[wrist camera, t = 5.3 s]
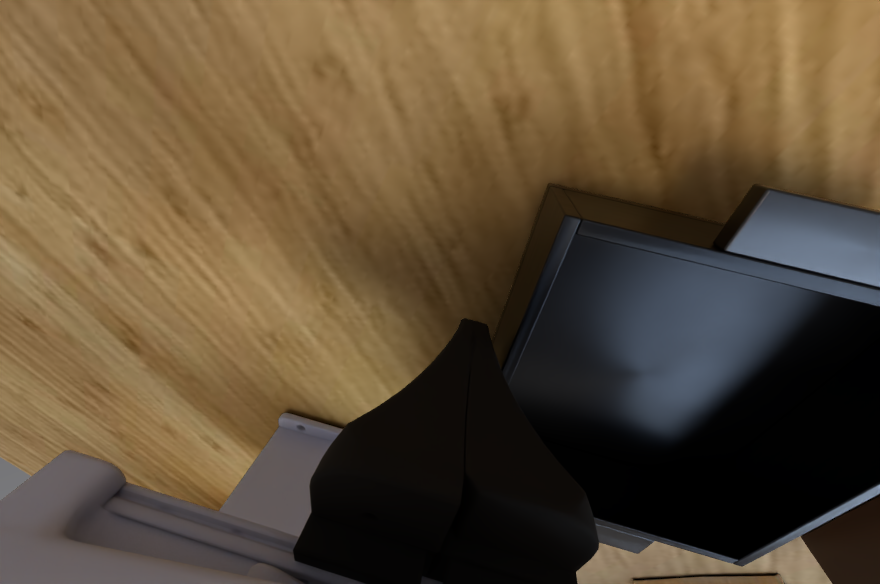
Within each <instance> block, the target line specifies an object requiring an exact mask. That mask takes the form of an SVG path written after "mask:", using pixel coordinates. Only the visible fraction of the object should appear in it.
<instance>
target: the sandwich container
mask: <svg viewBox="0 0 880 584" xmlns="http://www.w3.org/2000/svg"><path fill="white" fill-rule="evenodd" d="M633 582H634V584H784V582H783V580H782V578H781V576H780V575H779V574H777V575H775V576H720V577H688V578H671V579H654V580H638V581H635V580H633Z"/></svg>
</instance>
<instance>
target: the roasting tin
mask: <svg viewBox="0 0 880 584" xmlns="http://www.w3.org/2000/svg"><path fill="white" fill-rule="evenodd" d="M492 345H493V348H494V351H495V354H496V357H497V359H498V362H499V365H500V367H501V370H502V372H503V374H504V377H505V379H506V381H507V383H508V385H509V387H510V390H511V392H512V393H513V395H514V397H515V399H516V401H517V403H518V404H519V406H520V408H521V410H522V411H523V413H524V415H525V416H526V418H527V419H528V421H529V423H530V424H531V425H532V427H533V428H534V430H535V431H536V433H537V434H538V435H539V437H540V438H541V440H542V441H543V443H544V444H545V445H546V446H547V448H548V449H549V450H550V452H551V453H552V454H553V455H554V457H555V458H556V459H557V460H558V462H559V463H560V464H561V465H562V466H563V467H564V468H565V470H566V471H567V472H568V473H569V474H570V475H571V476H572V477H573V479H574V480H575V481H576V482H577V483H578V484H579V485H580V486H581V487H582V489H583V490H584V491H585V492H586V495H587V498H588V501H589V504H590V507H591V510H592V514H593V517H594V521H595V525H596V530H597V534H598V539H599V542H600V543H603V544H606V545H610V546H613V547H617V548H620V549H623V550H627V551H630V552H633V553H637V554H638V553H640V552H641V551H642V550H644V549H645V548H646V547H648V546H649V545H650V544H652V543H653V542H654V541H657V542H661V543H664V544H668V545H671V546H674V547H678V548H681V549H684V550H688V551H691V552H695V553H698V554H701V555H705V556H708V557H712V558H715V559H718V560H722V561H725V562H729V563H733V564H735V565H739V566H744V565H746V564H748V563H750V562H752V561H754V560H756V559H758V558H759V557H761V556H763V555H765V554H767V553H769V552H771V551H773V550H775V549H776V548H778V547H780V546H782V545H784V544H786V543H788V542H790V541H792V540H793V539H795V538H797V537H799V536H801V535H803V534H805V533H807V532H809V531H810V530H812V529H814V528H816V527H818V526H820V525H822V524H824V523H826V522H827V521H829V520H831V519H833V518H835V517H837V516H839V515H841V514H842V513H844V512H846V511H848V510H850V509H852V508H854V507H856V506H858V505H859V504H861V503H863V502H865V501H867V500H869V499H871V498H873V497H875V496H876V495H878V494H880V211H879V210H874V209H869V208H865V207H860V206H856V205H851V204H847V203H842V202H838V201H833V200H829V199H824V198H820V197H815V196H811V195H806V194H802V193H797V192H793V191H788V190H784V189H779V188H775V187H770V186H766V185H761V184H754V185H753V186H752V187H751V188H750V190H749V191H748V193H747V194H746V195H745V197H744V198H743V200H742V201H741V203H740V204H739V205H738V207H737V208H736V210H735V211H734V212H733V214H732V215H731V217H730V218H729V220H728V221H727V222H726V224H725V223H721V222H717V221H712V220H708V219H704V218H699V217H695V216H691V215H686V214H682V213H678V212H673V211H669V210H665V209H660V208H656V207H652V206H647V205H643V204H639V203H634V202H630V201H626V200H621V199H617V198H612V197H608V196H604V195H599V194H595V193H591V192H586V191H582V190H578V189H573V188H569V187H565V186H560V185H556V184H552V183H549V184H548V186H547V188H546V191H545V194H544V197H543V200H542V202H541V205H540V208H539V211H538V214H537V216H536V219H535V222H534V225H533V227H532V230H531V233H530V236H529V239H528V241H527V244H526V247H525V250H524V253H523V255H522V258H521V261H520V264H519V267H518V269H517V272H516V275H515V278H514V281H513V283H512V286H511V289H510V292H509V295H508V297H507V300H506V303H505V306H504V308H503V311H502V314H501V317H500V320H499V322H498V325H497V328H496V331H495V334H494V336H493V339H492Z"/></svg>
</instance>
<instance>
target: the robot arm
mask: <svg viewBox="0 0 880 584" xmlns="http://www.w3.org/2000/svg"><path fill="white" fill-rule="evenodd" d="M278 422H279V427H278V429H277V430H276V432H275V433H274V434H273V436H272V437H271V439H270V440H269V441H268V443H267V444H266V446H265V447H264V448H263V450H262V451H261V453H260V454H259V455H258V457H257V458H256V460H255V461H254V462H253V464H252V465H251V467H250V468H249V469H248V471H247V472H246V474H245V475H244V476H243V478H242V479H241V481H240V482H239V483H238V485H237V486H236V488H235V489H234V490H233V492H232V493H231V495H230V496H229V497H228V499H227V500H226V502H225V503H224V504H223V506H222V507H221V509H220V510H219V511H216V510H213V509H210V508H206V507H203V506H200V505H197V504H194V503H191V502H188V501H184V500H181V499H178V498H175V497H172V496H169V495H166V494H162V493H159V492H156V491H153V490H150V489H147V488H143V487H140V486H137V485H134V484H131V483H128V482H126V478H125V476H124V474H123V473H122V471H121V470H120V469H119V468H118V467H116V466H115V465H113V464H112V463H109V462H107V461H104V460H101V459H98V458H95V457H92V456H89V455H85V454H82V453H79V452H76V451H73V450H66V451H64V452H62V453H61V454H60V455H58V456H57V457H56V458H55V459H53V460H52V461H51V462H50V463H48V464H47V465H46V466H44V467H43V468H42V469H41V470H39V471H38V472H37V473H35V474H34V475H33V476H32V477H30V478H29V479H28V480H26V481H25V482H24V483H23V484H21V485H20V486H19V487H17V488H16V489H15V490H14V491H12V492H11V493H10V494H8V495H7V496H6V497H5V498H3V499H2V500H1V501H0V584H577V577H576V571H577V570H579V569H580V568H581V567H582V566H583V565H584V564H586V563H587V562H588V561H589V560H590V559H591V558H592V557H593V556H594V554H595V553H596V552H597V550H598V548H599V539H598V534H597V530H596V525H595V521H594V517H593V514H592V510H591V507H590V504H589V501H588V498H587V495H586V492H585V491H584V490H583V489H582V487H581V486H580V485H579V484H578V483H577V482H576V481H575V480H574V479H573V477H572V476H571V475H570V474H569V473H568V472H567V471H566V470H565V468H564V467H563V466H562V465H561V464H560V463H559V462H558V460H557V459H556V458H555V457H554V455H553V454H552V453H551V452H550V450H549V449H548V448H547V446H546V445H545V444H544V443H543V441H542V440H541V438H540V437H539V435H538V434H537V433H536V431H535V430H534V428H533V427H532V425H531V424H530V423H529V421H528V419H527V418H526V416H525V415H524V413H523V411H522V410H521V408H520V406H519V404H518V403H517V401H516V399H515V397H514V395H513V393H512V392H511V390H510V387H509V385H508V383H507V381H506V379H505V377H504V374H503V372H502V370H501V367H500V365H499V362H498V359H497V357H496V354H495V351H494V348H493V345H492V341H491V338H490V334H489V329H488V326H487V324H485V323H481V322H478V321H474V320H470V319H466V318H464V319H462V320H461V322H460V325H459V327H458V329H457V331H456V332H455V334H454V335H453V337H452V338H451V340H450V341H449V343H448V344H447V345H446V347H445V348H444V349H443V350H442V352H441V353H440V354H439V355H438V356H437V357H436V358H435V360H434V361H433V362H432V363H431V364H430V365H429V366H428V367H427V368H426V369H425V370H424V371H423V372H422V373H421V374H420V375H419V376H418V377H417V378H415V379H414V380H413V381H412V382H411V383H409V384H408V385H407V386H406V387H405V388H403V389H402V390H401V391H399V392H398V393H397V394H395V395H394V396H392V397H391V398H390V399H388V400H387V401H385V402H384V403H382V404H381V405H379V406H378V407H376V408H375V409H373V410H371V411H370V412H368V413H366V414H364V415H362V416H361V417H359V418H357V419H355V420H354V421H352V422H350V423H348V424H347V425H346V427H345V428H344V429H341V428H337V427H334V426H331V425H327V424H324V423H321V422H317V421H314V420H310V419H307V418H304V417H300V416H297V415H293V414H290V413H283V414H282V415H281V416H280V417H279V419H278Z"/></svg>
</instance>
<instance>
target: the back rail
mask: <svg viewBox="0 0 880 584" xmlns="http://www.w3.org/2000/svg"><path fill="white" fill-rule="evenodd" d="M801 538H802V539H803V541H804V542H805V544H806V545H807V547H808V548H809V550H810V551H811V553H812V554H813V556H814V557H815V559H816V560H817V562H818V563H819V564H820V566H821V567H822V569H823V570H824V572H825V573H826V575H827V576H828V578H829V579H830V581H831V582H832V584H880V496H878V497H876V498H874V499H872V500H870V501H868V502H866V503H864V504H862V505H861V506H859V507H857V508H855V509H853V510H851V511H849V512H847V513H845V514H843V515H841V516H840V517H838V518H836V519H834V520H832V521H830V522H828V523H826V524H824V525H822V526H821V527H819V528H817V529H815V530H813V531H811V532H809V533H807V534H805V535H803V536H801Z"/></svg>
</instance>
